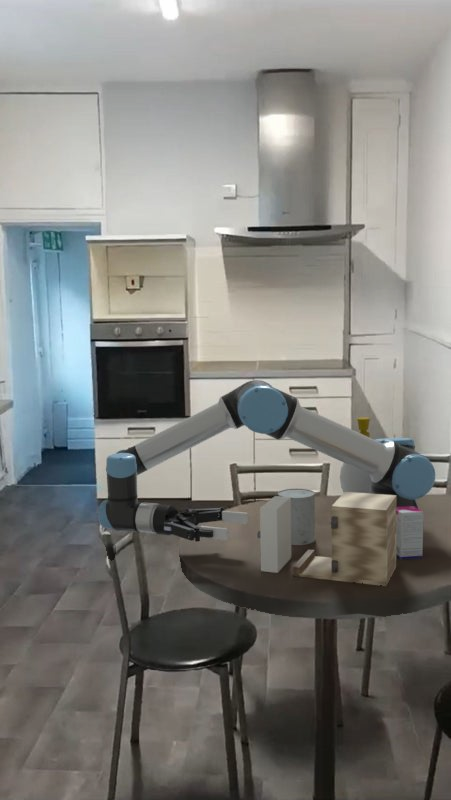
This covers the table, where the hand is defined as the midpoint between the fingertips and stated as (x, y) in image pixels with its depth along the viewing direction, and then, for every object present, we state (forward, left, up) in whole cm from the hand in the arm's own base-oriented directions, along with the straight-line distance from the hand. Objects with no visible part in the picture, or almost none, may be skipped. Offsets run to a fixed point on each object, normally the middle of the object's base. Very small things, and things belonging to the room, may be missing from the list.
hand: (237, 526), depth 194 cm
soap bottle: (-46, -43, -9) cm, 63 cm away
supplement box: (-41, +5, -9) cm, 42 cm away
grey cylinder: (-18, -13, -9) cm, 23 cm away
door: (-8, +5, -8) cm, 13 cm away
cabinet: (-22, +14, -8) cm, 27 cm away
